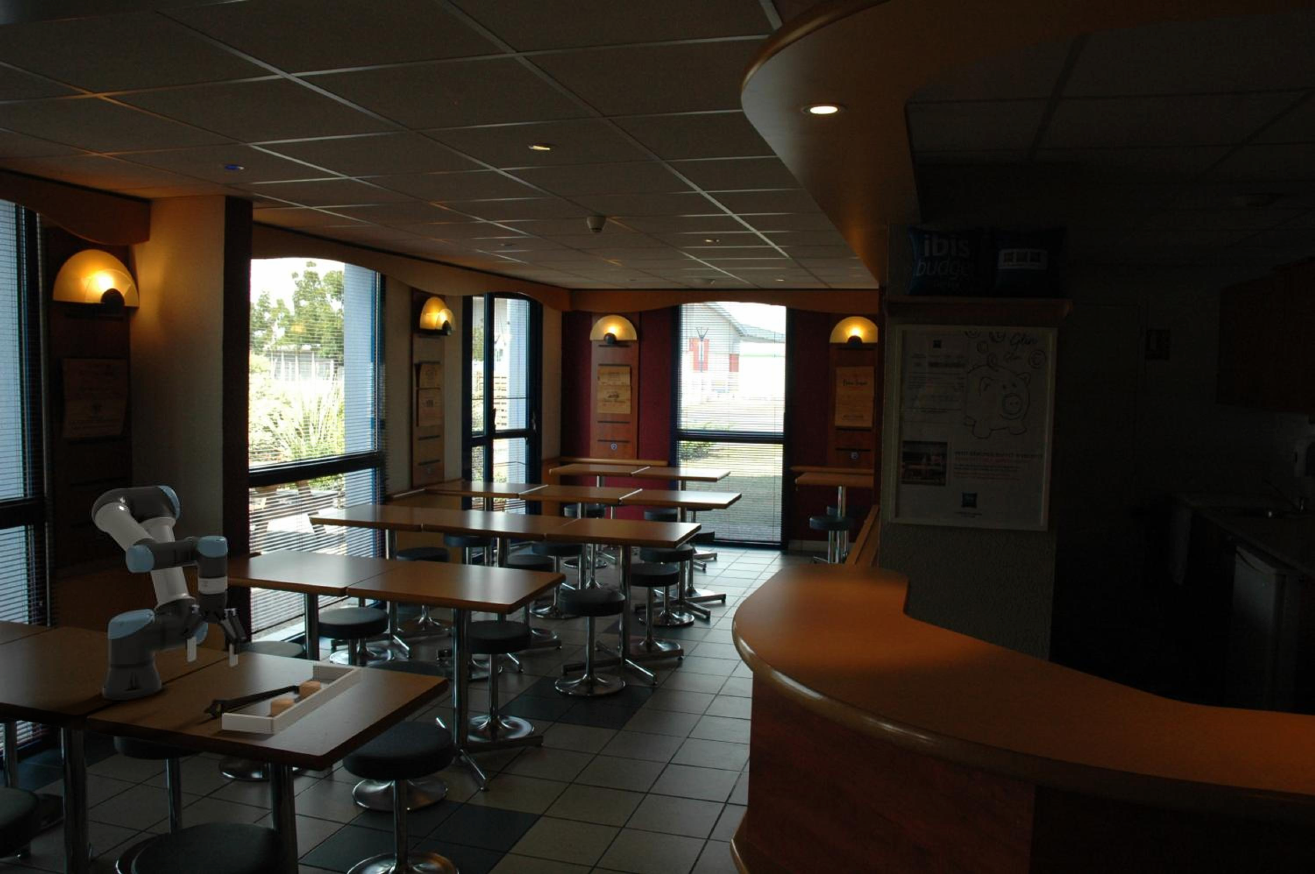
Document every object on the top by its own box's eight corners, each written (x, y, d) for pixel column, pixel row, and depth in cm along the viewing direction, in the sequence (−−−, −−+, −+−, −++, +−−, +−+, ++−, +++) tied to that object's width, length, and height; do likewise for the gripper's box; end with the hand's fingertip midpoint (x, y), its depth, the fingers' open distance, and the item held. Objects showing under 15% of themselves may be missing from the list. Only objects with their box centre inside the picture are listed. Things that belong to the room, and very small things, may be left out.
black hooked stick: (305, 698, 270) (213, 723, 244) (294, 696, 272) (201, 720, 246) (306, 681, 270) (213, 704, 244) (294, 679, 272) (201, 701, 246)
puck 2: (295, 696, 265) (295, 685, 265) (313, 691, 270) (313, 679, 270) (307, 701, 262) (307, 689, 262) (325, 695, 267) (325, 684, 267)
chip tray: (222, 729, 240) (221, 714, 240) (315, 676, 283) (315, 664, 283) (274, 734, 237) (274, 719, 237) (360, 680, 280) (360, 667, 280)
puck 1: (265, 716, 250) (265, 704, 250) (281, 709, 256) (280, 697, 255) (283, 719, 248) (283, 706, 248) (298, 711, 254) (298, 699, 253)
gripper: (164, 589, 257) (165, 662, 259) (243, 597, 253) (243, 671, 255) (183, 583, 265) (183, 654, 266) (259, 591, 260) (259, 662, 262)
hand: (212, 662), depth 260 cm, fingers open, 13 cm apart
